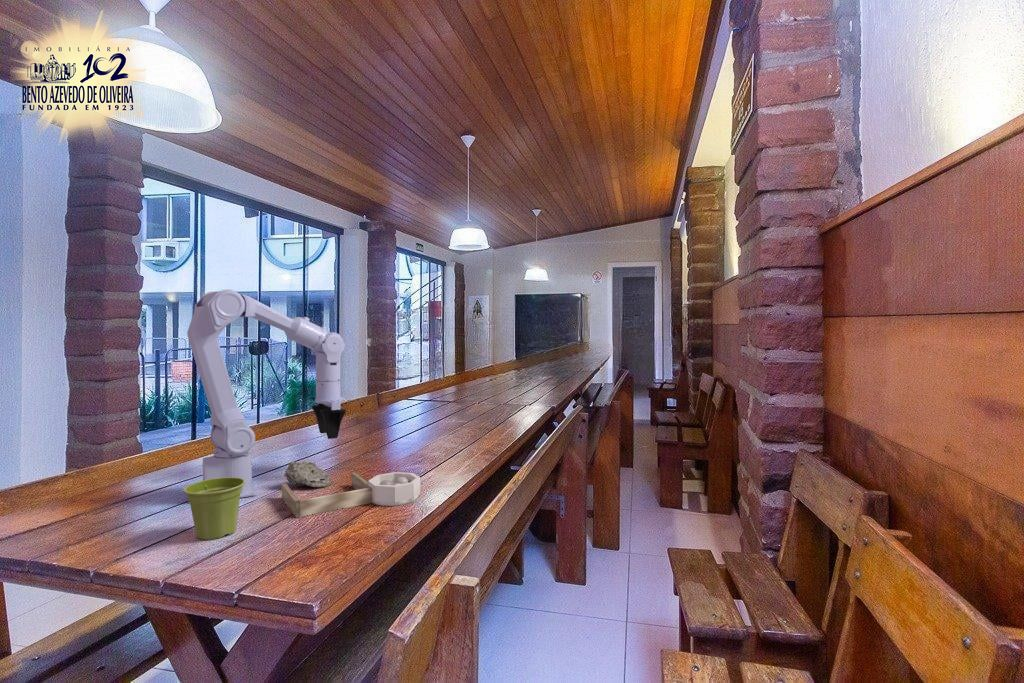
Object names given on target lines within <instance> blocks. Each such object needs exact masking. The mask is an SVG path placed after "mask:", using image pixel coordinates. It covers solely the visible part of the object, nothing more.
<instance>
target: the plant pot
mask: <svg viewBox="0 0 1024 683" xmlns="http://www.w3.org/2000/svg"><path fill="white" fill-rule="evenodd" d="M244 484H245V480H244V479H242V478H237V477H224V478H214V479H208V480H203V479H202V480H199V481H196V482H193V483H191V484H187V485H186V486H185V487H184V488H183V493H184V494H186V497H187V501H188V502H189V504H190V505H189V506H190V510H191V514H192V521H193V525H194V532H195V536H196V538H200V539H201V540H206V541H207V540H215V539H220V538H222V537H224V536H225V535H231V534H233V533H234V532H236V530H237V524H238V516H239V508H240V499H241V498H240V493H241V492H242V487H243V485H244Z"/></svg>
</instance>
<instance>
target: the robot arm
mask: <svg viewBox="0 0 1024 683" xmlns="http://www.w3.org/2000/svg"><path fill="white" fill-rule="evenodd" d="M238 318H253V319H255V320H257V321H259V322H261V323H264V324H267V325H270V326H271V327H275V328H276V329H279V330H281V331H284V334H285V337H286V338H287V339H288V340H289V341H290V340H291V341H292V342H294V343H297V344H299V345H301V346H304V347H306V348H308V349H310V350H312V351H313V353H315V399H314V402H315V403H317V404H316V405H311V409H312V411H313V413H314V415H315V417H316V421H317V425H318V430H319V433H320V434H326V437H327V439H328V440H331V439H338V437H339V433H340V428H341V423H342V421H343V418H344V416H345V415H346V412H347V410H346V409H345V408H341V405H342V404H341V402H344V401H346V397H344V396H342V395H341V394H342V392H341V391H342V390H341V384H342V383H341V358H342V356H341V355H342V353H343V352H344V351H345V348H346V343H345V342H344V339H343V337H342V336H341V334H339V333H338V332H335V331H334V332H333V331H328V329H327V328H328V327H326V326H322V325H321V326H319V325H317V324H315V323H313V322H311V321H310V320H311V319H310V318H309V317H307V316H302V317H300V316H297V317H293V318H291V317H289V316H287V315H285V314H283V313H282V312H279V311H277V310H276V309H273V308H272V307H270V306H268V305H266V304H264V303H262V302H260V301H258V300H257V299H255V298H252V297H251V296H248V295H246V294H243V293H241V294H240V293H239V292H237V291H236V290H233V289H222V290H219V291H209V292H207V293H205V294H204V295H203V296H202V297H201V298H199V300H198V301H197V302H196V303H195V304H194V311H193V314H192V317H191V319H190V320H191V321H190V324H189V326H188V329H187V332H186V333H187V339H188V342H189V345H190V349H191V351H192V354H193V359H194V361H195V365H196V367H197V371H198V374H199V377H200V381H201V384H202V386H203V391H204V393H205V397H206V400H207V403H208V406H209V410H210V413H211V416H210V420H209V421H210V425H211V431H210V436H209V437H210V441H211V443H212V444H213V446H215V447H216V448H215V449H214V450H213V451H214V452H213V455H211V456H206V457H205V456H204V457H203V458H202V481H203V480H208V479H214V478H224V477H237V478H242V479H244V480H245V484H244V485H243V487H242V492H241V493H240V499H242V498H246V497H253V496H256V495H257V491H256V490H255V488H254V486H253V475H252V474H253V472H252V471H253V469H252V468H253V466H252V463H253V462H252V449H253V447H254V445H255V442H256V434H255V432H254V430H253V429H252V428H251V427H250V426H249V425H248V423H247V420H246V417H244V414H243V413H242V412H241V410H240V408H239V407H238V402H237V399H236V395H235V392H234V389H233V386H232V383H231V379H230V376H229V372H228V370H227V366H226V362H225V360H224V356H223V352H222V349H221V345H220V343H219V340H218V337H219V336H220V335H221V333H222V332H223V331H224V330H225V328H226V327H227V326H228V325H229V324H231V323H233V321H235V320H237V319H238Z"/></svg>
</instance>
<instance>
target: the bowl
mask: <svg viewBox="0 0 1024 683" xmlns="http://www.w3.org/2000/svg"><path fill="white" fill-rule="evenodd" d="M399 477H405V478H407V480H408V482H409V483H406V484H400V485H395V486H393V485H394V484H395V481H396V479H397V478H399ZM383 480H389V481H391V483H392V484H393V485H379V484H380V482H382V481H383ZM367 482H368V486H370V487H371V488H372V503H371V504H373V505H376V506H377V505H378V506H383V507H396V506H403V505H404V506H405V505H407V504H411V503H414V502H415V501H417V500H418V499H419V497H420V493H421V477H420V476H418V475H416V474H415V473H413V472H399V471H396V472H387V473H382V474H377V475H375V476H373V477H372V478H371V479H368V480H367Z"/></svg>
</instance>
